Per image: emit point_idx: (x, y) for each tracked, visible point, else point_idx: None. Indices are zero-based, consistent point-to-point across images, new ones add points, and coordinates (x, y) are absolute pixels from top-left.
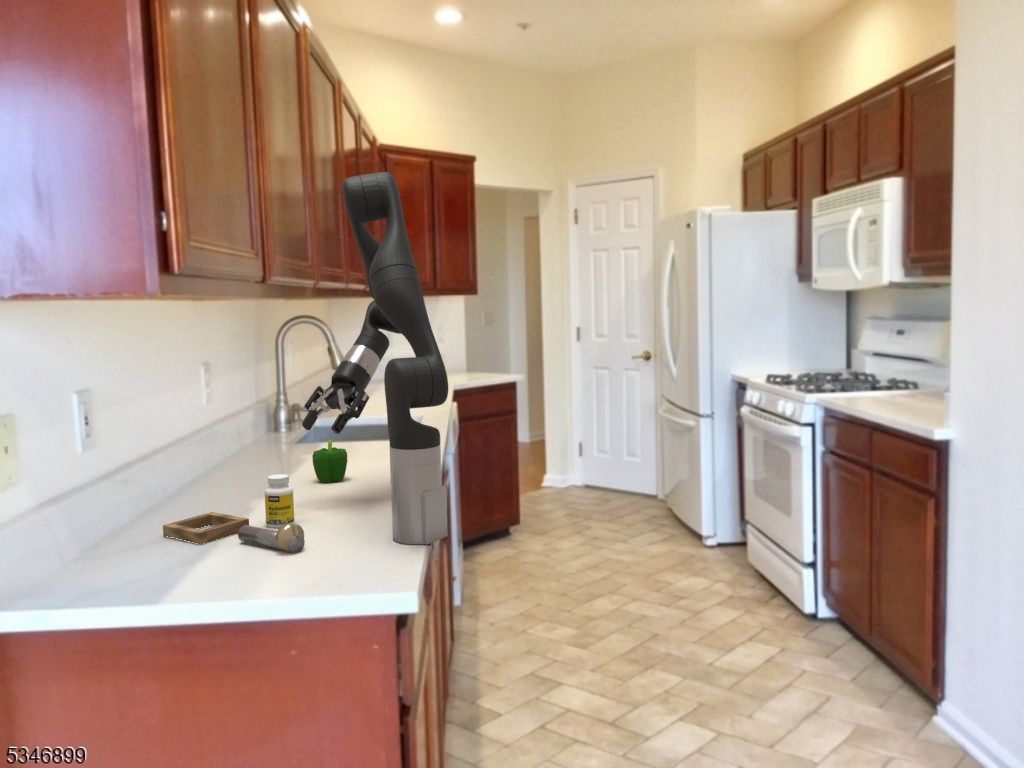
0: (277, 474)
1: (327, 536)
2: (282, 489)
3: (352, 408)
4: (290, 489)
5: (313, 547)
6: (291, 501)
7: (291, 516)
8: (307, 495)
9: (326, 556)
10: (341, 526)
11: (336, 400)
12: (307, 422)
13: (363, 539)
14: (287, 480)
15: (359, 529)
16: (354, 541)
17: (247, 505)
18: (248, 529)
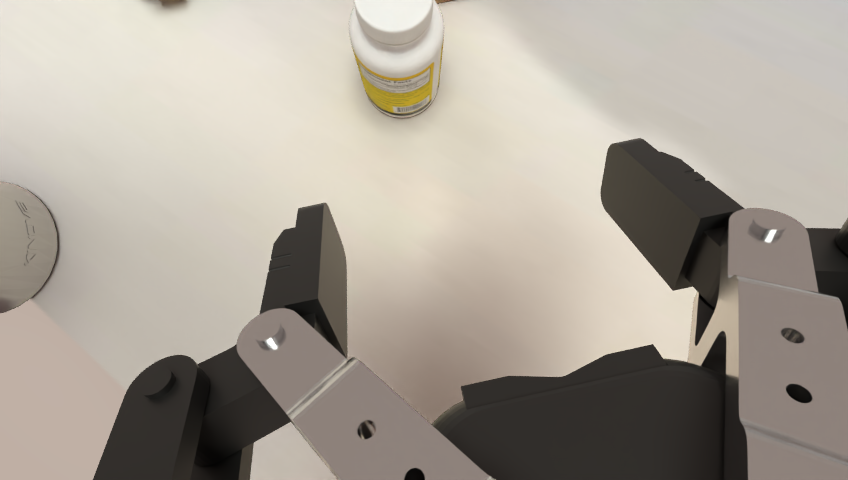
0: (427, 8)
1: (202, 103)
2: (355, 12)
3: (149, 401)
4: (356, 46)
5: (150, 29)
6: (359, 67)
7: (364, 86)
8: (649, 318)
9: (63, 10)
10: (252, 180)
11: (515, 429)
12: (627, 173)
13: (102, 146)
14: (359, 21)
15: (187, 194)
16: (107, 121)
17: (672, 131)
18: None
